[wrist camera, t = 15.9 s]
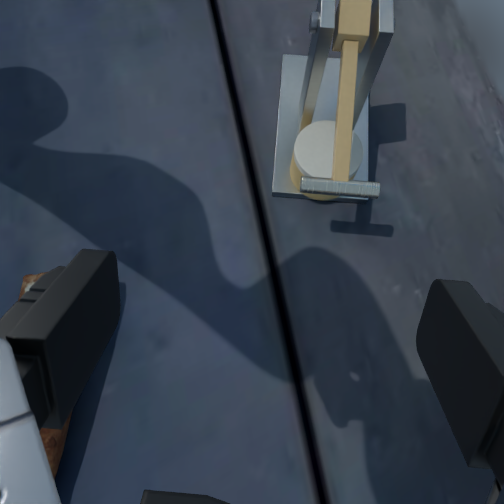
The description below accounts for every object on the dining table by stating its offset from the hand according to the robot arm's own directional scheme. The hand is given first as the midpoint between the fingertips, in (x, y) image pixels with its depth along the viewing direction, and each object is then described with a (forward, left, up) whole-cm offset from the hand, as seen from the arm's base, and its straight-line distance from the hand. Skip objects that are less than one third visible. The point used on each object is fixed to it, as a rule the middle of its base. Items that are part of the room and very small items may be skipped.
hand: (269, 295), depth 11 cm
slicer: (-13, +20, -27) cm, 36 cm away
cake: (-9, +16, -26) cm, 32 cm away
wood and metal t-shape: (-9, +17, -17) cm, 25 cm away
